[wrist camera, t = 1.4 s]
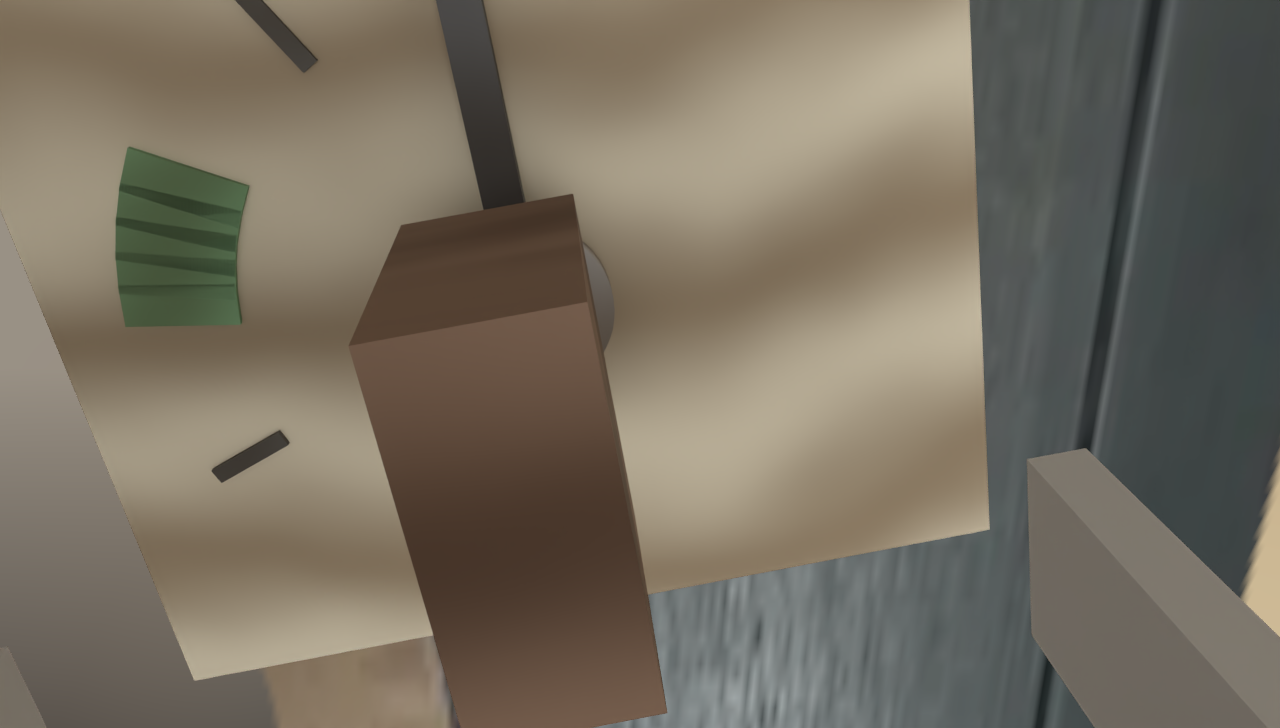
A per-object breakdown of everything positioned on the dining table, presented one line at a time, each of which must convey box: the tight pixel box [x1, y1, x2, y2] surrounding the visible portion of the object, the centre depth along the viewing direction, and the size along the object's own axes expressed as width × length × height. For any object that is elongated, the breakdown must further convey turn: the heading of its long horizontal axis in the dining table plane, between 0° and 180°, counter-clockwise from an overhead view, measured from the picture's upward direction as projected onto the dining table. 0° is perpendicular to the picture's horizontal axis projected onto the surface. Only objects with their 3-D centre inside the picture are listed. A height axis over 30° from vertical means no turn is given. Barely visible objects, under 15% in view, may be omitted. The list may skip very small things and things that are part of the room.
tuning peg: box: [348, 0, 667, 728], centre depth 19 cm, size 12×4×10 cm, turn 9°
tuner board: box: [0, 0, 990, 681], centre depth 26 cm, size 18×22×2 cm
